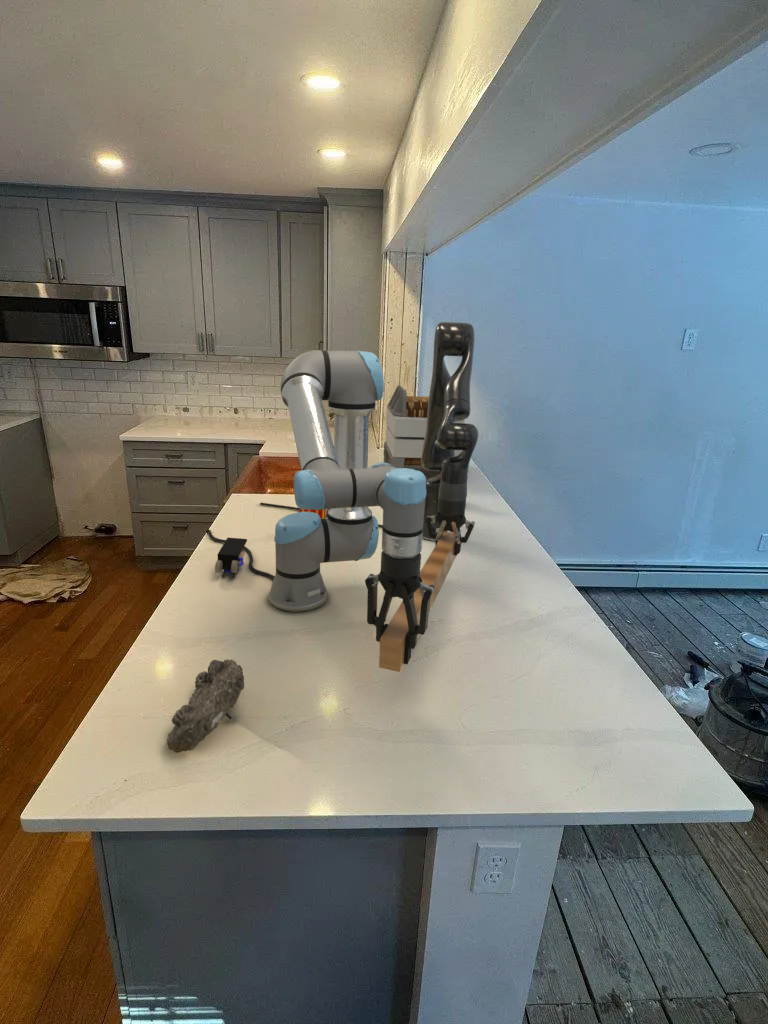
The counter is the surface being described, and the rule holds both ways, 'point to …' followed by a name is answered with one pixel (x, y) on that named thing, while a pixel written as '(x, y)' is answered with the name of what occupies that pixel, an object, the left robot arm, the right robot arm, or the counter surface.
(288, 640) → the counter surface
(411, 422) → the grey crate stand
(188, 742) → the fossil
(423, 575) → the bar
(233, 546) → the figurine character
